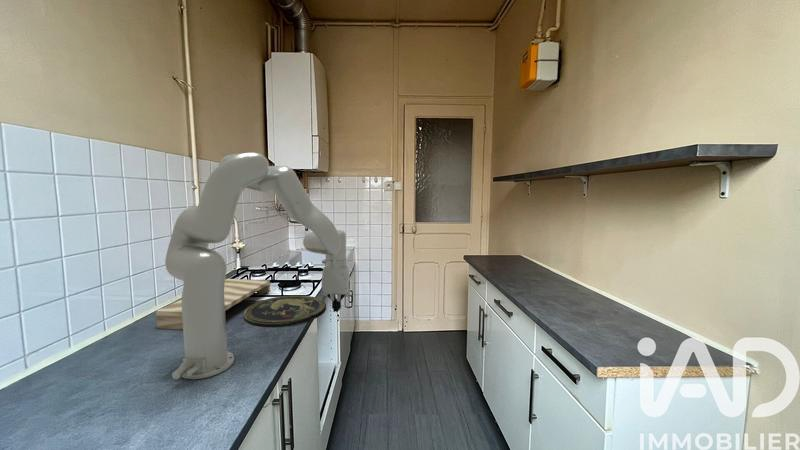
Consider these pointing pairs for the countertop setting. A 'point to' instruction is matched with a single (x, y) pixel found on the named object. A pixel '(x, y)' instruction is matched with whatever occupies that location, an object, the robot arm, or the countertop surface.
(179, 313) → the low shelf
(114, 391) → the countertop surface
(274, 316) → the decorative plate
